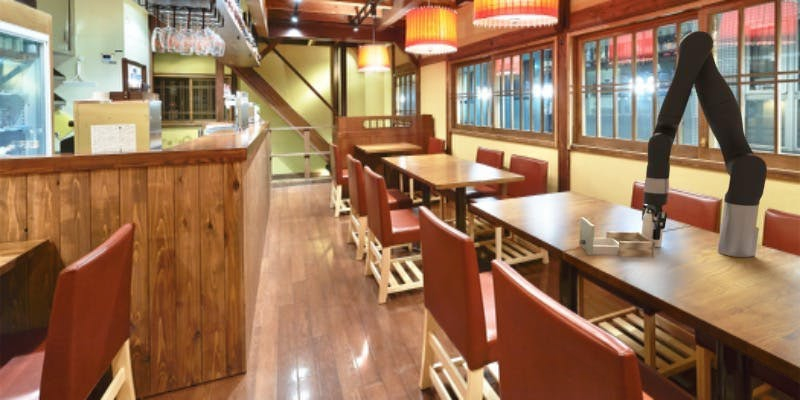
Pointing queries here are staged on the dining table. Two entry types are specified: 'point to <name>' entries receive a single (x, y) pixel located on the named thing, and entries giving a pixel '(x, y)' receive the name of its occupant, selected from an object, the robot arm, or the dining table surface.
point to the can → (650, 229)
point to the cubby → (632, 244)
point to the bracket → (595, 240)
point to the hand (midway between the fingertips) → (651, 236)
